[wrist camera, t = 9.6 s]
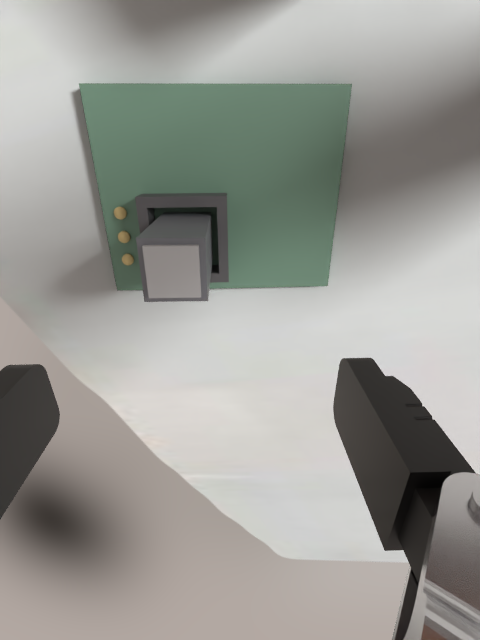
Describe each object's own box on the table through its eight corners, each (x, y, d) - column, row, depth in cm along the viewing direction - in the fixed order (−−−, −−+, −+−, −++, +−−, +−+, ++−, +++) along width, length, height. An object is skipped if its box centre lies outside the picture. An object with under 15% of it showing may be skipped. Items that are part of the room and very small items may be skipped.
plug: (211, 211, 28) (205, 239, 19) (212, 257, 30) (207, 303, 20) (164, 211, 28) (134, 239, 19) (168, 257, 30) (143, 304, 20)
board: (347, 86, 25) (364, 76, 22) (324, 282, 32) (335, 295, 29) (84, 86, 25) (63, 75, 21) (120, 286, 32) (108, 300, 29)
